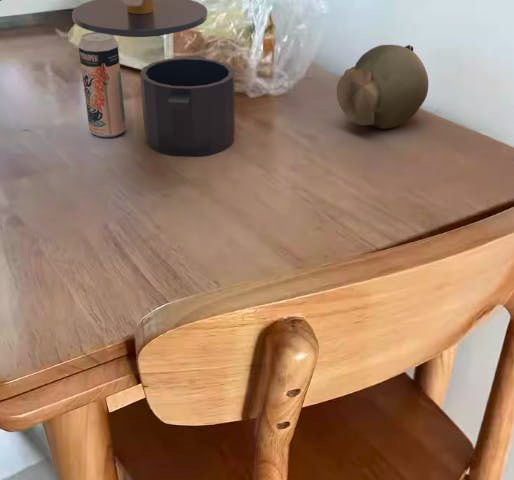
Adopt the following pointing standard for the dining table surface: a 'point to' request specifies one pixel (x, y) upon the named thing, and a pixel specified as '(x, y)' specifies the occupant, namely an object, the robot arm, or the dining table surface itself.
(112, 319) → the dining table surface
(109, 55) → the beer can
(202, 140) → the pot
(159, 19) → the lid
